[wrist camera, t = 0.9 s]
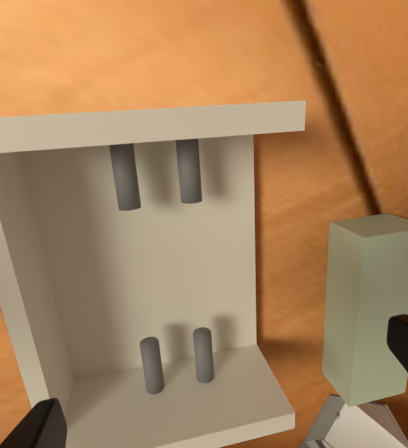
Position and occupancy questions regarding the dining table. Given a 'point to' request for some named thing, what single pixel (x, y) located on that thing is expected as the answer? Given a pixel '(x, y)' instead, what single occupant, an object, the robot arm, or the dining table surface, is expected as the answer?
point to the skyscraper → (354, 426)
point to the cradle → (140, 272)
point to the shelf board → (365, 306)
